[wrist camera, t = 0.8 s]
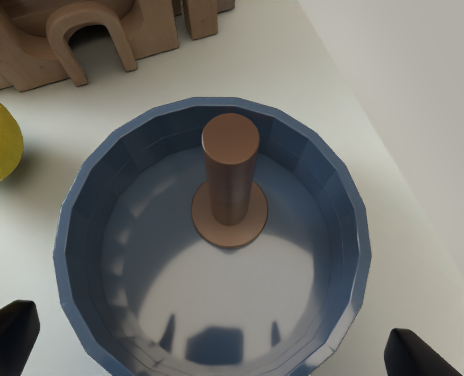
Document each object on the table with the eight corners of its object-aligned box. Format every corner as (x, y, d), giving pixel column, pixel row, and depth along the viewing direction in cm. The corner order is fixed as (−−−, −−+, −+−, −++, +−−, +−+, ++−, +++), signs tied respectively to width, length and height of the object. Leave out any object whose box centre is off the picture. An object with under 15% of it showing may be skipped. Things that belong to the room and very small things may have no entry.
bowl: (379, 334, 21) (427, 338, 16) (123, 428, 20) (85, 467, 14) (286, 117, 26) (300, 67, 21) (75, 177, 24) (33, 139, 19)
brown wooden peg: (278, 235, 23) (313, 176, 13) (203, 259, 22) (186, 215, 13) (252, 167, 24) (268, 71, 15) (183, 188, 24) (153, 102, 14)
